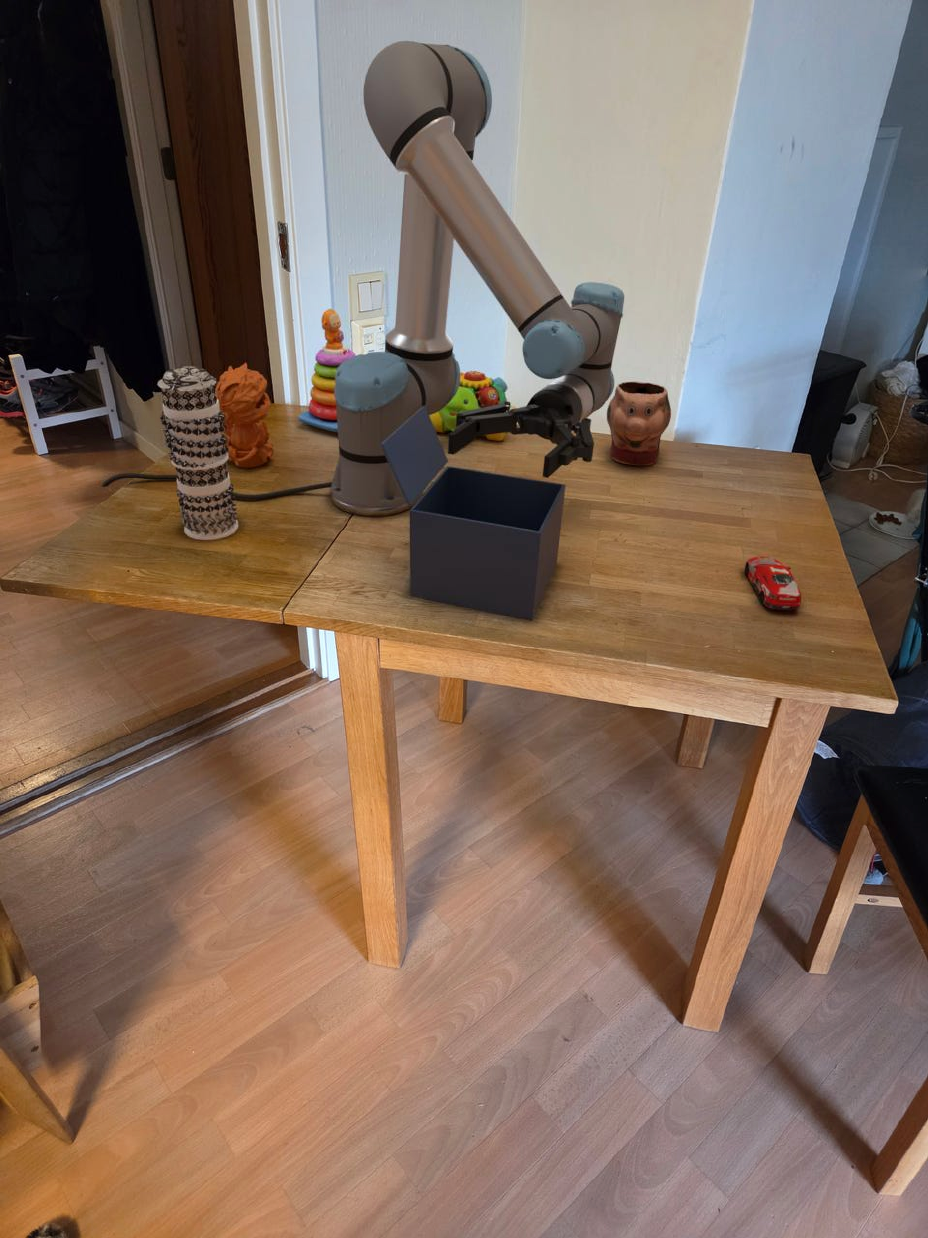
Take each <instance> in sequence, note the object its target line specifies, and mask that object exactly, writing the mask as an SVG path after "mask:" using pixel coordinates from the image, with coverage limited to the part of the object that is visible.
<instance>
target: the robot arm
mask: <svg viewBox="0 0 928 1238" xmlns="http://www.w3.org/2000/svg"><path fill="white" fill-rule="evenodd" d="M489 79H490V78H489V76H488V73H487V72H486V71H485V69H484V68H483V66H482V64H481V63H480V61H479V60H478V59H477V58H476V56H474V55H473V54H471V53H470V52H468V51H466V50H464V49H461V48H458V47H456V46H452V45H450V44H435V43H424V42H423V43H422V42H419V41H414V40H413V41H412V40H400V41H396V42H393V43H391V44H389V45H387V46H385V47H384V48H383V49H381V50H380V51H379V52H378V53H377V54H376V55H375V57H373V59H372V61H371V63H370V64H369V67H368V68H367V72H366V74H365V77H364V84H363V105H364V112H365V115H366V118H367V122H368V124H369V127H370V129H371V130H372V133H373V135H374V137H375V139H376V141H377V142H378V144H379V146H380V148H381V149H382V151H383V152H384V153H385V155H386V157H387V158H388V159H389V161H390V162H391V164H392V165H393V167H394V168H395V169H396V171H397V173H398V174H401V175H404V176H403V177H404V179H403V181H404V182H403V195H402V208H401V209H402V212H401V225H400V227H401V228H400V245H399V258H398V259H399V260H398V276H397V290H396V291H397V293H396V307H395V322H394V323H395V324H394V327H393V328H392V329H391V330H390V331H388V332H387V333H386V334H385V339H384V340H385V342H384V351H383V352H382V351H373V352H371V351H370V352H367V353H366V354H362V353H360V354H355V355H356V356H353V357H351V358H349V359H347V360H345V361H344V362H343V363H342V364H341V365H340V366H339V367H338V369H337V371H336V375H335V389H334V394H335V399H336V410H337V425H338V432H337V441H338V459H337V464H336V467H335V469H334V474H333V478H332V481H330V482H324V483H317V484H311V485H305V486H300V487H294V488H287V489H283V490H277V491H272V492H267V493H258V494H243V493H237V492H234V491H232V492H233V493H234V497H235V499H238V500H246V501H247V500H248V501H249V500H250V501H253V500H265V499H273V498H277V497H281V496H282V497H283V496H286V495H292V494H296V493H297V494H299V493H305V492H309V491H317V490H322V489H329V488H330V497H331V501H332V503H333V505H335V506H336V507H337V508H338V509H340V510H342V511H344V512H347V513H348V514H349V513H350V514H354V515H357V516H368V517H380V516H381V517H382V516H390V515H395V514H398V513H401V512H402V513H403V512H405V511H407V510H410V509H411V508H412V507H413V506H414V505H415V503H416V502H417V501H418V500H419V499H420V495H419V496H418V497H417V498H416V499H415V500H414V501H413V503H412V504H411V505H409V506H408V505H407V503H406V500H405V498H404V496H403V494H402V491H401V489H400V487H399V485H398V483H397V480H396V478H395V476H394V474H393V472H392V469H391V467H390V465H389V463H388V461H387V458H386V456H385V454H384V452H383V449H382V447H381V445H380V444H381V443H383V442H384V441H385V440H386V439H387V438H388V437H389V436H390V435H391V434H393V433H394V432H395V431H396V430H397V429H398V428H399V427H400V426H401V425H402V424H404V423H405V422H406V421H407V420H408V419H409V418H410V417H411V416H412V415H414V414H415V413H416V412H417V411H418V410H419V409H420V408H421V407H422V406H425V407H426V409H427V412H428V414H429V416H430V415H431V414H434V413H436V412H438V411H439V410H441V409H442V408H444V407H445V406H446V405H447V404H448V403H449V402H450V401H451V400H452V399H453V398H454V396H455V394H456V393H457V390H458V388H459V384H460V372H461V368H460V367H461V366H460V363H459V361H458V360H457V359H456V354H454V352H453V351H454V342H453V340H452V339H451V338H450V336H449V335H448V333H447V324H448V323H447V322H448V315H449V314H448V312H449V303H450V302H449V301H450V293H451V284H452V283H451V282H452V272H453V262H454V252H455V243H457V245H458V247H460V249H461V251H462V252H463V253H464V255H465V256H466V258H467V259H468V260H469V262H470V263H471V265H472V267H473V268H474V270H475V271H476V272H477V273H478V275H479V276H480V277H481V279H482V280H483V282H484V283H485V285H486V286H487V288H488V289H489V291H490V292H491V293H492V296H493V297H494V298H495V299H496V301H497V302H498V304H499V305H500V307H501V308H502V309H503V311H504V312H505V314H506V315H507V316H508V318H509V319H510V321H511V322H512V324H513V325H514V327H515V328H516V329H517V331H518V332H519V335H520V336H521V338H522V339H523V341H522V349H521V350H522V351H521V352H522V357H523V362H524V363H525V366H526V367H527V368H528V370H529V371H530V372H531V373H532V374H534V375H535V376H537V377H538V378H541V379H544V380H553V381H551V382H549V384H547V385H546V386H545V387H543V388H541V389H540V390H539V391H537V392H536V393H534V394H533V395H532V396H531V398H530V399H529V401H528V403H527V404H526V405H525V406H521V407H515V408H510V405H511V401H508V400H507V401H504V402H502V403H499V404H497V405H493V406H489V407H484V408H479V409H474V410H470V411H465V412H460V413H457V414H456V428H455V429H454V431H450V432H449V433H448V440H447V442H448V443H447V455H451V456H452V455H453V456H454V455H455V454H457V453H458V452H459V451H461V450H462V449H464V448H465V447H467V446H468V445H469V444H471V443H472V442H474V441H475V440H476V437H478V436H479V437H480V436H483V435H488V434H497V433H505V432H506V433H510V434H511V435H513V436H516V435H526V434H528V435H537V436H538V437H540V438H541V439H544V440H547V441H550V443H551V444H553V445H554V444H555V445H556V446H555V447H553V449H551V450H550V451H549V452H548V453H547V454H546V455H544V459H543V468H542V478H546V479H547V478H550V477H551V476H552V475H553V474H554V473H555V472H557V470H559V469H560V468H561V467H562V466H565V467H567V466H569V465H570V464H571V463H572V462H574V461H575V462H576V461H577V460H578V459H582V461H583V462H585V463H591V462H592V461H593V456H594V455H593V454H594V449H595V448H594V446H595V441H594V438H593V435H592V432H591V425H592V419H590V418H589V417H590V416H591V415H592V414H593V413H595V412H597V411H598V410H600V409H601V408H602V407H604V405H605V404H606V402H607V401H608V400H609V399H610V398H611V396H612V394H613V392H614V389H615V376H614V374H613V370H612V367H613V359H614V354H615V350H616V345H617V340H618V336H619V330H620V325H621V321H622V318H623V316H624V313H623V311H624V304H625V294H624V293H625V292H624V291H623V290H622V289H621V288H619V287H618V286H615V285H613V284H609V283H604V282H593V281H587V282H581V283H579V284H577V285H576V287H575V288H574V292H573V297H572V299H571V301H570V304H571V306H570V304H569V302H567V300H566V298H565V297H564V296H563V294H562V292H561V291H560V290H559V288H558V286H557V285H556V284H555V282H554V280H553V279H552V278H551V276H550V274H549V273H548V272H547V270H546V269H545V267H544V265H543V264H542V263H541V261H540V260H539V258H538V257H537V255H536V254H535V253H534V251H533V250H532V248H531V246H530V245H529V244H528V242H527V240H526V239H525V238H524V236H523V235H522V233H521V232H520V230H519V229H518V228H517V226H516V224H515V223H514V221H513V220H512V219H511V216H510V215H509V214H508V212H507V211H506V210H505V208H504V207H503V205H502V204H501V202H500V201H499V199H498V198H497V196H496V195H495V193H494V191H493V190H492V189H491V187H490V185H489V184H488V183H487V181H486V180H485V178H484V177H483V175H482V173H480V171H479V169H478V168H477V166H476V165H475V164H474V154H475V146H476V139H477V138H478V137H479V135H480V134H481V133H482V132H483V130H484V129H485V127H486V126H487V124H488V122H489V120H490V116H491V112H492V108H493V107H492V106H493V95H492V87H491V83H490V80H489ZM518 426H519V427H518ZM573 433H574V434H575V435H574V434H573ZM123 479H143V480H156V481H157V480H161V481H163V480H168V481H169V480H170V481H171V480H175V481H177V474H149V473H137V472H136V473H135V472H126V473H124V472H123V473H119V474H115V475H113V476H110V477H109V478H108V479H106V480H105V481H104V482H103V483H102V484H101V487H102V488H107V487H109V486H110V485H111V484H112V483H114V482H116V481H119V480H123Z"/></svg>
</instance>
